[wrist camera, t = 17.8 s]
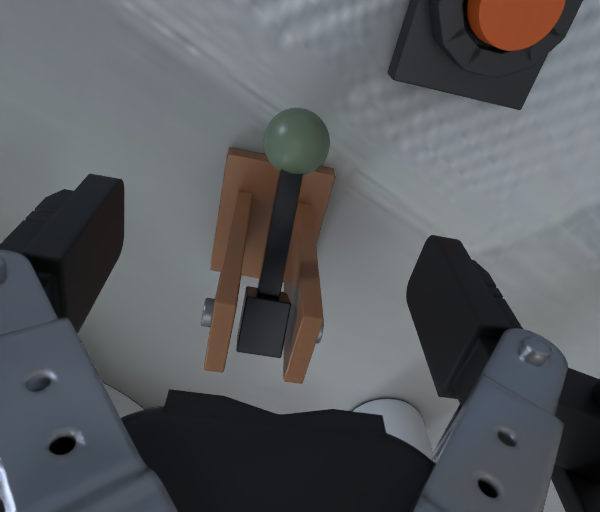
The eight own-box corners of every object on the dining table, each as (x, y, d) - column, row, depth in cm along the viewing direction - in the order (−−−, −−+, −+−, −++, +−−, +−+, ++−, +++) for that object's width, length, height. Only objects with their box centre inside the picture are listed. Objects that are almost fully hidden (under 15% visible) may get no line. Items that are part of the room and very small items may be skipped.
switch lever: (268, 107, 24) (272, 95, 20) (329, 121, 24) (341, 110, 21) (227, 333, 25) (225, 353, 22) (286, 341, 25) (292, 363, 22)
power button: (488, -58, 22) (502, -59, 20) (564, -35, 22) (584, -34, 21) (453, 34, 24) (464, 40, 22) (524, 53, 24) (540, 59, 23)
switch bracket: (229, 147, 30) (197, 255, 19) (334, 168, 31) (359, 283, 20) (212, 261, 35) (178, 398, 24) (303, 276, 36) (311, 416, 25)
